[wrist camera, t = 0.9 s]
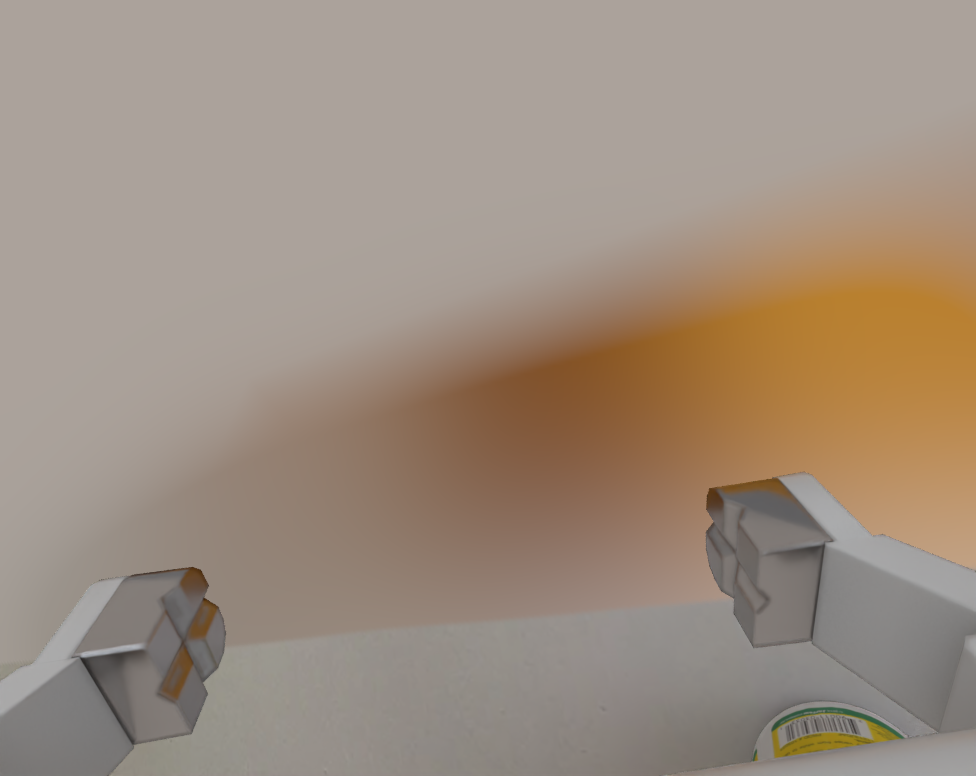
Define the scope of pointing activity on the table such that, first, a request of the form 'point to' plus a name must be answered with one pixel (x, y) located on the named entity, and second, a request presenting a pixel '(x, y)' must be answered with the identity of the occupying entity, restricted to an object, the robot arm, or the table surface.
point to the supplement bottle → (821, 730)
